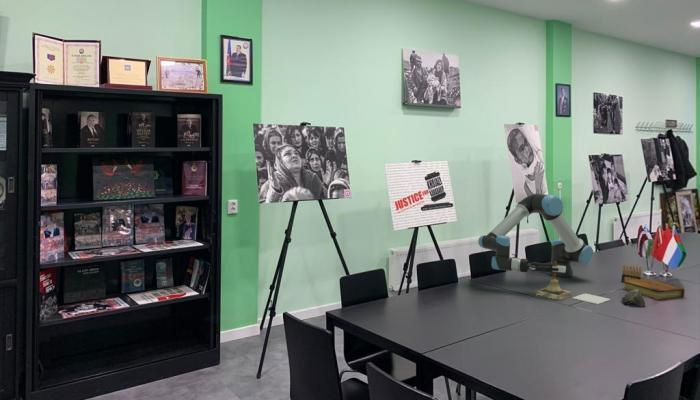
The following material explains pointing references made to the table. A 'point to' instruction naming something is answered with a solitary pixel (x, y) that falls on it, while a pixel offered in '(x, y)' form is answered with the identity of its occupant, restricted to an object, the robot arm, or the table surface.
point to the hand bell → (554, 282)
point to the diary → (654, 289)
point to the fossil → (633, 298)
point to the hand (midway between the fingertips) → (565, 269)
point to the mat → (591, 299)
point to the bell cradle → (557, 297)
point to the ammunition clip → (631, 273)
